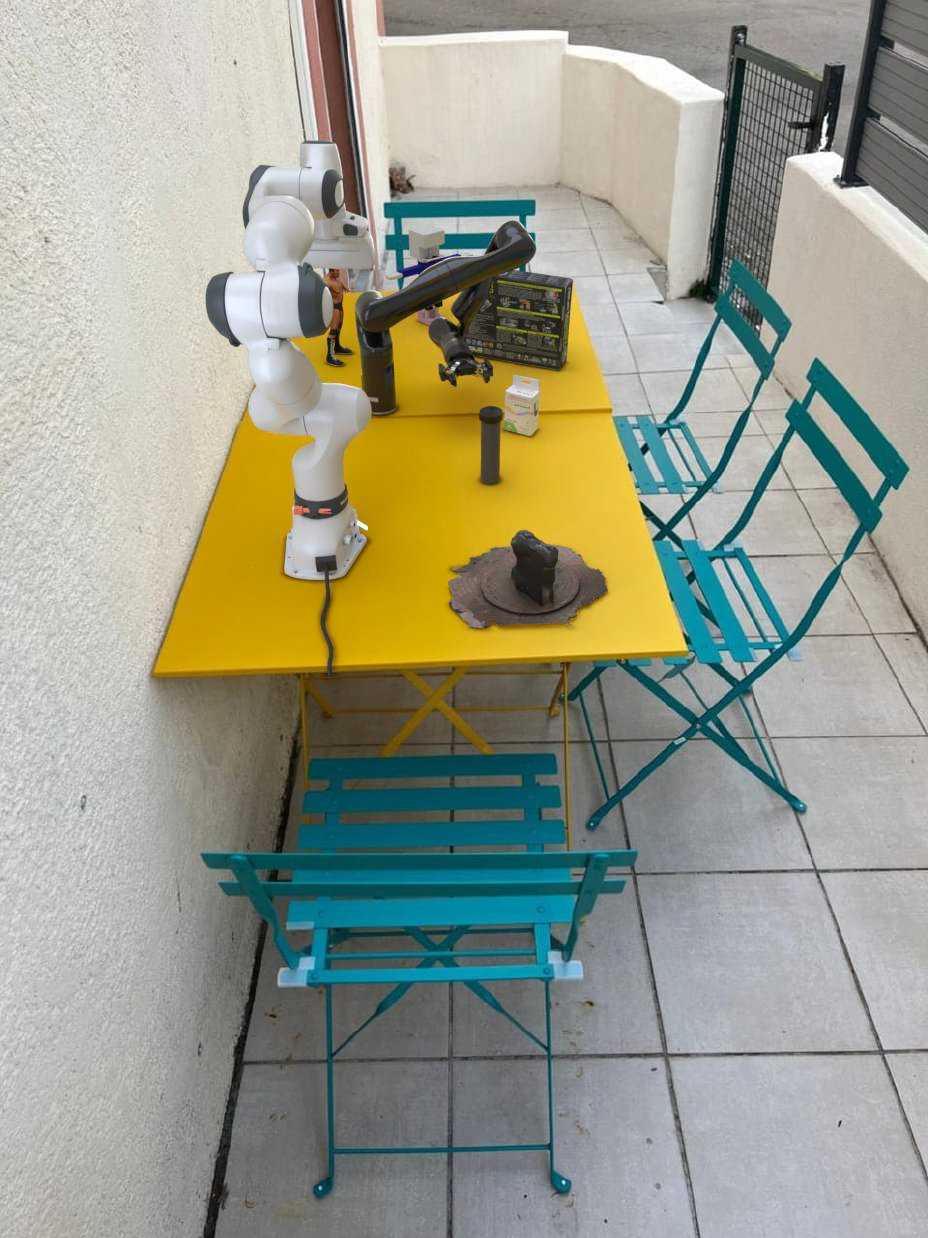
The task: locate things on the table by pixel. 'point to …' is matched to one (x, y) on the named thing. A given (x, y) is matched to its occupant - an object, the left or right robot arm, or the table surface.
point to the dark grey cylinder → (490, 453)
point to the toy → (425, 262)
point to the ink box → (522, 406)
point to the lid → (490, 415)
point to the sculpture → (524, 584)
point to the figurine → (336, 317)
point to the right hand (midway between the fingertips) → (471, 381)
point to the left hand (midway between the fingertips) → (332, 287)
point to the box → (524, 320)
